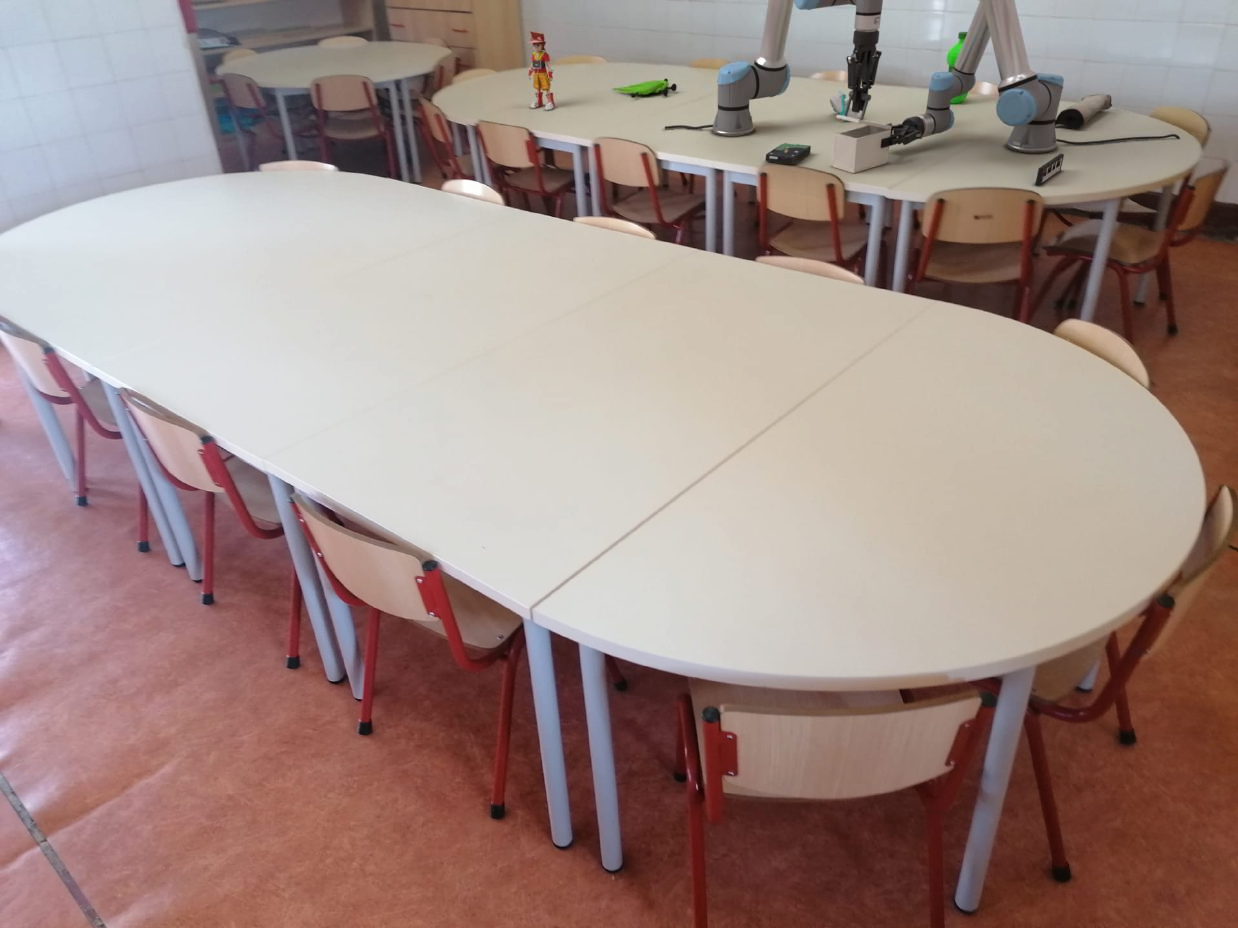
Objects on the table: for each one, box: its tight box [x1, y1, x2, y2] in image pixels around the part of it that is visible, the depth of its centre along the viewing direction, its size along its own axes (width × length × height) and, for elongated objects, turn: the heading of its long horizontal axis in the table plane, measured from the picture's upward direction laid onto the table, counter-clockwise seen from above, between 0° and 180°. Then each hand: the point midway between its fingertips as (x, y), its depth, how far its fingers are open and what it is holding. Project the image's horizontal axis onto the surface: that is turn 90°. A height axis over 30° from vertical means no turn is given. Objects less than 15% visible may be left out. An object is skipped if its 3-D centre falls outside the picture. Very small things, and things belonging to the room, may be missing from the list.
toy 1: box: [527, 31, 556, 111], centre depth 374 cm, size 12×9×30 cm
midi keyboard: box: [1035, 153, 1065, 186], centre depth 273 cm, size 18×1×5 cm, turn 138°
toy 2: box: [612, 78, 677, 99], centre depth 396 cm, size 28×5×30 cm
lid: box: [835, 90, 892, 129], centre depth 286 cm, size 16×9×9 cm, turn 125°
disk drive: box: [765, 142, 812, 165], centre depth 304 cm, size 10×3×15 cm
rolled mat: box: [1055, 93, 1113, 130], centre depth 324 cm, size 30×9×10 cm
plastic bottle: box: [946, 31, 969, 104], centre depth 348 cm, size 10×10×25 cm
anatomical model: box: [829, 90, 861, 122], centre depth 342 cm, size 15×10×10 cm
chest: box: [832, 124, 891, 174], centre depth 292 cm, size 16×9×11 cm, turn 124°
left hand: (858, 111), depth 284 cm, fingers closed on lid, 2 cm apart
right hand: (870, 140), depth 293 cm, fingers closed on chest, 9 cm apart
